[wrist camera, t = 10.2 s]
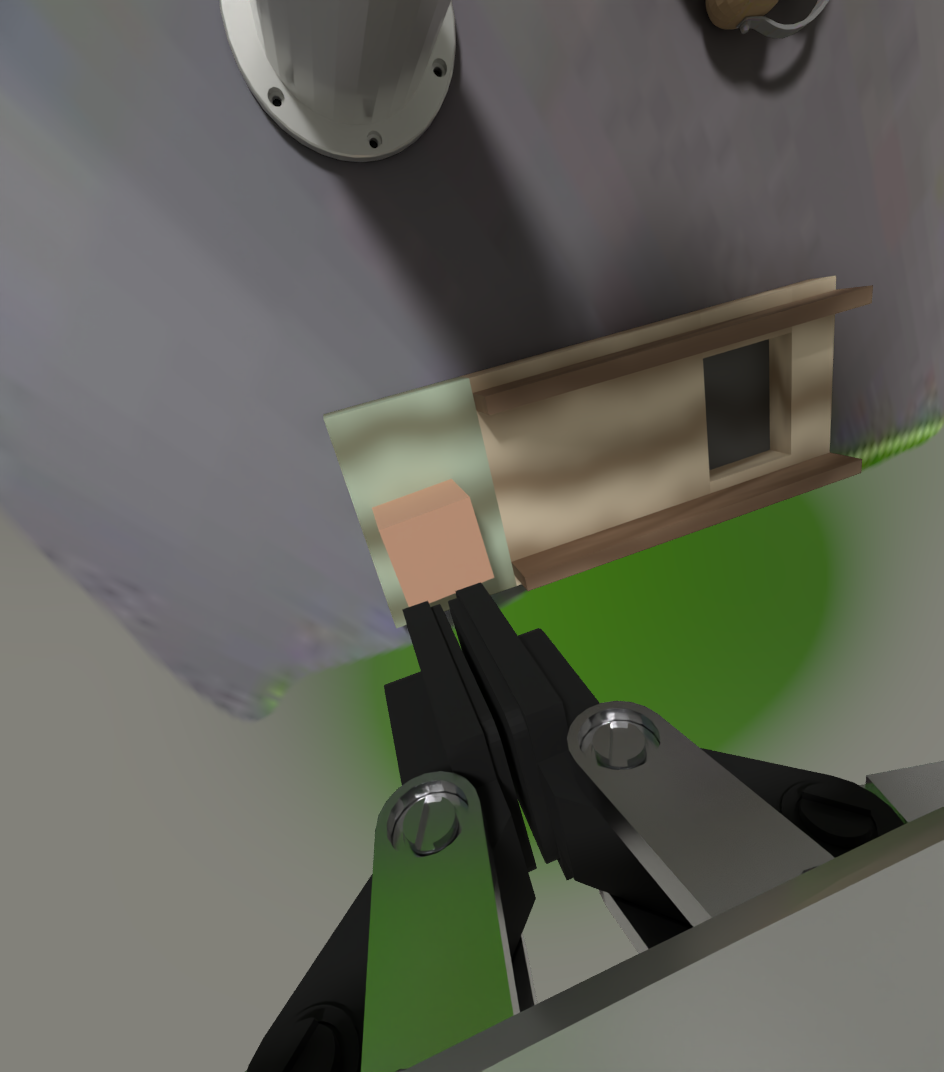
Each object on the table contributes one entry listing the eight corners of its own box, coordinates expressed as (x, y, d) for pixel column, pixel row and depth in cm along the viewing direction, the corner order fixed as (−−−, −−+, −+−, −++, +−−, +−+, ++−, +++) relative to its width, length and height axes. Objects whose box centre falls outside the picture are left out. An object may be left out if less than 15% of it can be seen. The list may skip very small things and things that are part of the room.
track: (323, 414, 36) (323, 424, 31) (808, 279, 42) (873, 270, 37) (392, 613, 42) (401, 648, 37) (804, 470, 49) (860, 484, 44)
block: (371, 507, 36) (378, 530, 32) (451, 478, 37) (469, 496, 33) (400, 580, 39) (410, 611, 34) (474, 551, 40) (494, 577, 35)
